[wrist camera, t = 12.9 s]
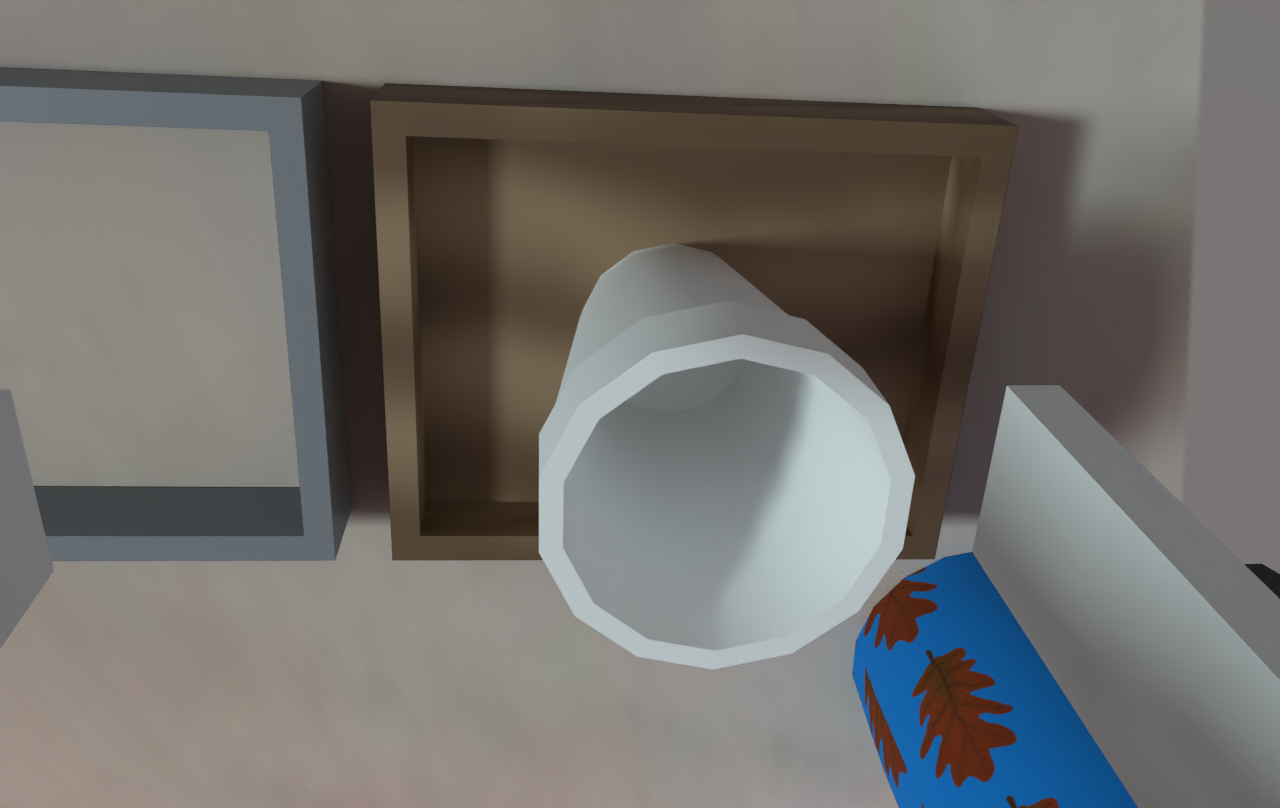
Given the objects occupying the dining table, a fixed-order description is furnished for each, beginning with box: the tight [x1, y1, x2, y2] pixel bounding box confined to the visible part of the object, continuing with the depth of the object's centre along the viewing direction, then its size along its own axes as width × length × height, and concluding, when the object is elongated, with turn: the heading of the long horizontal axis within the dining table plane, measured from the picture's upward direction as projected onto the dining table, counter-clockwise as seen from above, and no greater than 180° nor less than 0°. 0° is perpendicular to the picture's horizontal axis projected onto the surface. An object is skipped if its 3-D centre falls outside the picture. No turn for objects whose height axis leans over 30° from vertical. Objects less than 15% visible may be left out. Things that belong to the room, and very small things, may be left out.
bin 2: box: [370, 83, 1018, 560], centre depth 38 cm, size 16×20×4 cm
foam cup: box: [539, 243, 915, 669], centre depth 33 cm, size 10×9×13 cm
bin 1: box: [0, 68, 351, 561], centre depth 36 cm, size 16×20×4 cm
